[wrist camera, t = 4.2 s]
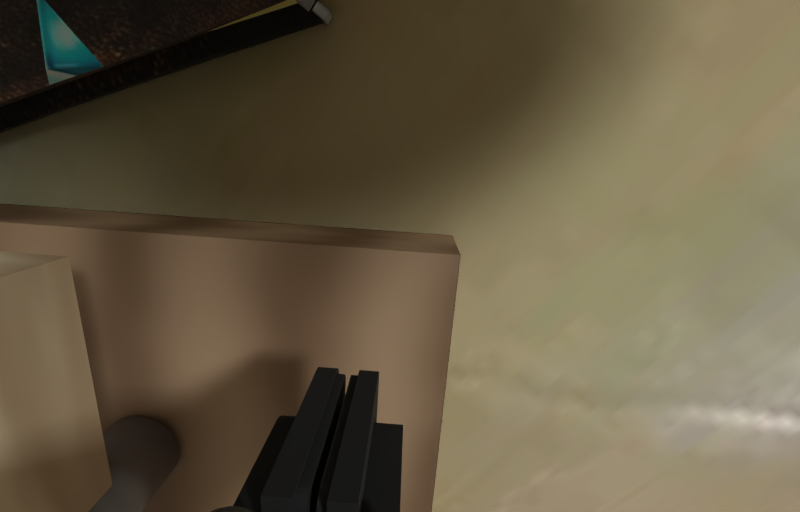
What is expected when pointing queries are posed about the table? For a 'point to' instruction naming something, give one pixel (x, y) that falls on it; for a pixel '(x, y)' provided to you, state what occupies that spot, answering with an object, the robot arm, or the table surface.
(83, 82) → the book
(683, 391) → the table surface
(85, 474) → the wooden lever
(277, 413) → the dial board
